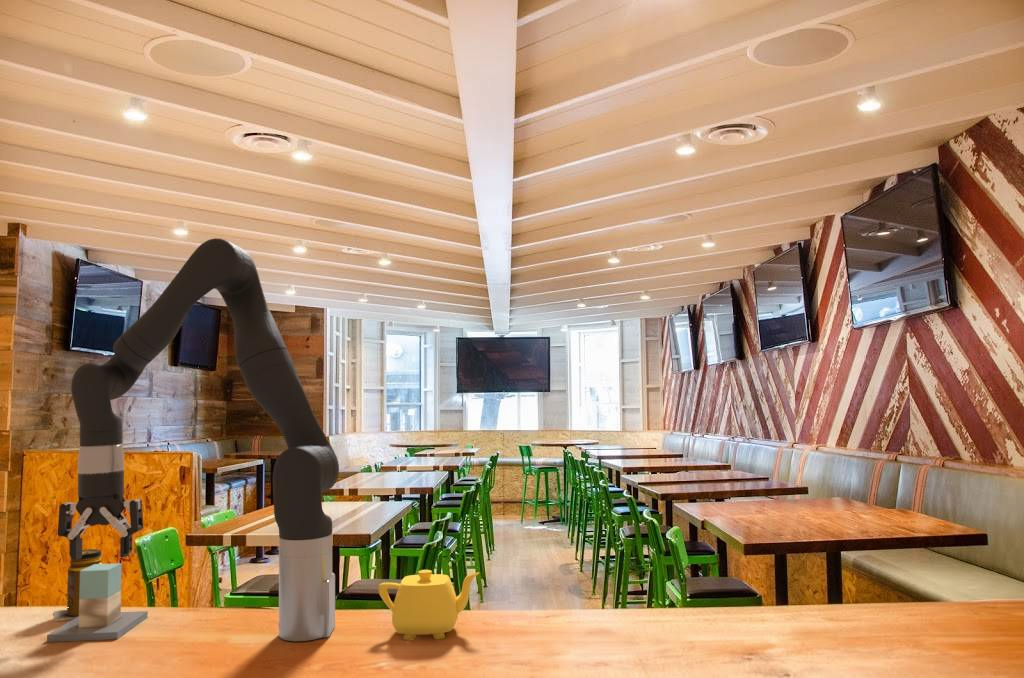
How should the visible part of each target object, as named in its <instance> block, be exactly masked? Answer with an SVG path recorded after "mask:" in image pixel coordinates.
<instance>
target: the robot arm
mask: <svg viewBox="0 0 1024 678" xmlns="http://www.w3.org/2000/svg"><path fill="white" fill-rule="evenodd" d="M260 280H261V279H260V276H259V272H258V269H257V265H256V264H255V261H254V259H253V257H252V255H250V254H249V252H247V251H246V250H245V249H244V248H242V247H241V246H238V245H237V244H235V243H233V242H231V241H229V240H227V239H223V238H215V237H214V238H211V239H208V240H206V241H204V242H202V243H201V244H200V245H199V246H198V247H197V248H195V250H194V251H193V252H192V253H191V255H190V257H189V258H187V260H186V262H185V263H184V264H183V266H182V267H181V268H180V269H179V270H178V272H177V274H176V275H175V277H174V278H173V279H172V280H171V281H170V283H169V284H168V285H167V287H166V288H165V289H164V291H163V292H162V293H161V294H160V295H159V297H157V299H156V300H155V301H154V303H153V304H152V305H151V306H150V307H149V308H148V309H147V310H146V311H145V312H144V313H143V314H142V316H140V317H139V318H138V319H137V320H136V321H134V322H133V324H131V326H129V327H128V328H127V329H126V330H125V331H124V332H123V333H122V334H121V335H120V336H119V337H118V338H117V339H116V340H115V342H114V343H113V346H112V350H113V353H114V354H113V355H112V357H111V358H110V359H109V360H107V361H106V362H95V361H94V362H92V361H91V362H86V363H84V364H81V365H80V366H79V367H77V369H76V370H75V372H74V374H73V376H72V378H71V386H70V388H71V396H72V400H73V405H74V408H75V409H74V410H75V411H76V416H77V418H78V422H79V448H78V449H79V451H78V457H77V466H76V467H77V497H78V500H77V502H72V501H68V502H64V503H60V504H59V508H58V512H59V513H58V521H57V522H58V523H57V536H58V537H61V538H62V537H63V538H67V539H68V540H69V541H68V542H69V543H68V544H69V549H68V550H69V551H68V552H69V556H70V558H71V557H72V560H78V559H81V558H82V550H83V537H81V536H82V535H83V533H84V532H85V531H86V529H87V528H89V527H91V526H92V527H95V526H98V525H100V526H108V525H111V526H112V527H113V529H115V530H116V531H117V532H118V533H119V535H121V536H120V539H119V541H120V543H119V547H120V548H119V555H120V556H119V557H120V558H127V557H129V556H130V554H131V553H132V552H133V537H134V536H133V535H134V534H135V533H138V532H140V531H142V530H143V529H144V513H143V512H144V511H143V501H142V499H141V498H135V499H133V500H126V499H125V497H124V493H125V452H124V445H123V440H124V439H123V438H124V437H123V435H124V434H123V431H124V430H123V426H124V425H123V420H122V417H121V416H120V415H119V414H118V413H115V412H114V411H113V408H112V407H113V406H112V400H115V399H119V398H121V397H122V396H124V395H125V394H127V392H128V391H130V389H131V388H132V387H133V386H134V385H135V383H136V382H137V380H138V379H139V378H140V376H141V375H142V373H143V371H144V370H145V369H146V367H147V365H148V364H150V363H151V362H152V361H153V360H154V359H156V357H158V355H159V354H161V353H162V352H163V351H164V350H165V349H166V348H167V347H168V345H169V344H171V343H172V341H173V340H174V338H175V337H176V335H177V334H178V332H179V330H180V328H181V327H182V325H183V323H184V321H185V318H186V317H187V315H188V313H189V312H190V311H191V309H192V308H193V307H194V305H195V304H196V303H198V301H200V299H202V298H203V297H204V296H205V295H207V294H208V293H210V292H211V291H212V290H214V289H215V290H217V291H218V293H219V294H220V295H221V297H222V299H223V301H224V303H225V305H226V307H227V310H228V312H229V314H230V317H231V319H232V324H233V330H234V331H233V333H234V340H233V341H234V342H233V343H234V355H235V360H236V363H237V366H238V368H239V370H240V373H241V376H242V378H243V380H244V383H245V386H246V387H247V389H248V392H249V393H250V395H251V397H253V399H254V400H255V401H256V402H257V404H258V405H259V406H260V407H261V408H262V410H263V411H264V412H265V413H266V414H267V415H268V416H269V417H270V418H271V419H272V420H273V422H274V423H275V425H277V427H278V430H279V431H281V434H282V436H283V438H284V440H285V441H284V442H285V443H286V445H287V448H286V449H285V450H283V451H282V452H281V453H280V454H279V455H278V456H277V459H276V460H275V463H274V467H273V472H272V492H273V493H272V495H273V496H272V497H273V514H274V521H275V522H276V525H277V528H278V554H279V555H278V637H279V638H280V639H281V640H284V641H289V642H307V641H312V640H313V641H314V640H317V639H323V638H329V637H330V636H331V634H332V632H333V631H334V628H336V574H335V573H334V572H333V519H332V517H331V516H329V515H327V514H325V513H324V511H323V503H322V493H325V492H327V491H329V490H330V489H332V488H333V487H334V486H335V485H336V483H337V481H338V478H339V472H340V464H339V460H338V457H337V455H336V452H335V450H334V448H333V447H332V445H331V442H330V441H329V439H328V438H327V435H326V434H325V432H324V430H323V429H322V427H321V424H320V423H319V422H318V420H317V417H316V416H315V414H314V411H313V409H312V406H311V404H310V401H309V399H308V397H307V393H306V392H305V389H304V387H303V384H302V382H301V379H300V377H299V374H298V373H297V370H296V368H295V364H294V362H293V359H292V357H291V354H290V352H289V350H288V348H287V346H286V344H285V341H284V339H283V337H282V335H281V332H280V329H279V328H278V325H277V323H276V321H275V319H274V317H273V315H272V312H271V310H270V308H269V306H268V303H267V300H266V297H265V295H264V291H263V287H262V284H261V281H260ZM125 508H126V510H127V512H128V513H129V516H130V517H129V519H130V520H129V521H130V524H129V522H128V519H127V517H126V516H125V515H124V514H123V513H122V512H123V511H124V510H125ZM76 511H77V513H78V514H79V515H80V517H79V519H78V520H77V521H76V522H75V524H74V525H73V516H74V514H75V512H76Z"/></svg>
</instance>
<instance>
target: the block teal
mask: <svg viewBox="0 0 1024 678" xmlns="http://www.w3.org/2000/svg"><path fill="white" fill-rule="evenodd" d="M119 591H121V592H122V562H121V563H102V564H94V565H92V566H89V567H87V568H85V569H83V570H81V571H80V591H79V599H96V598H109V597H111V596H112V595H114V594H116V593H117V592H119Z"/></svg>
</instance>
